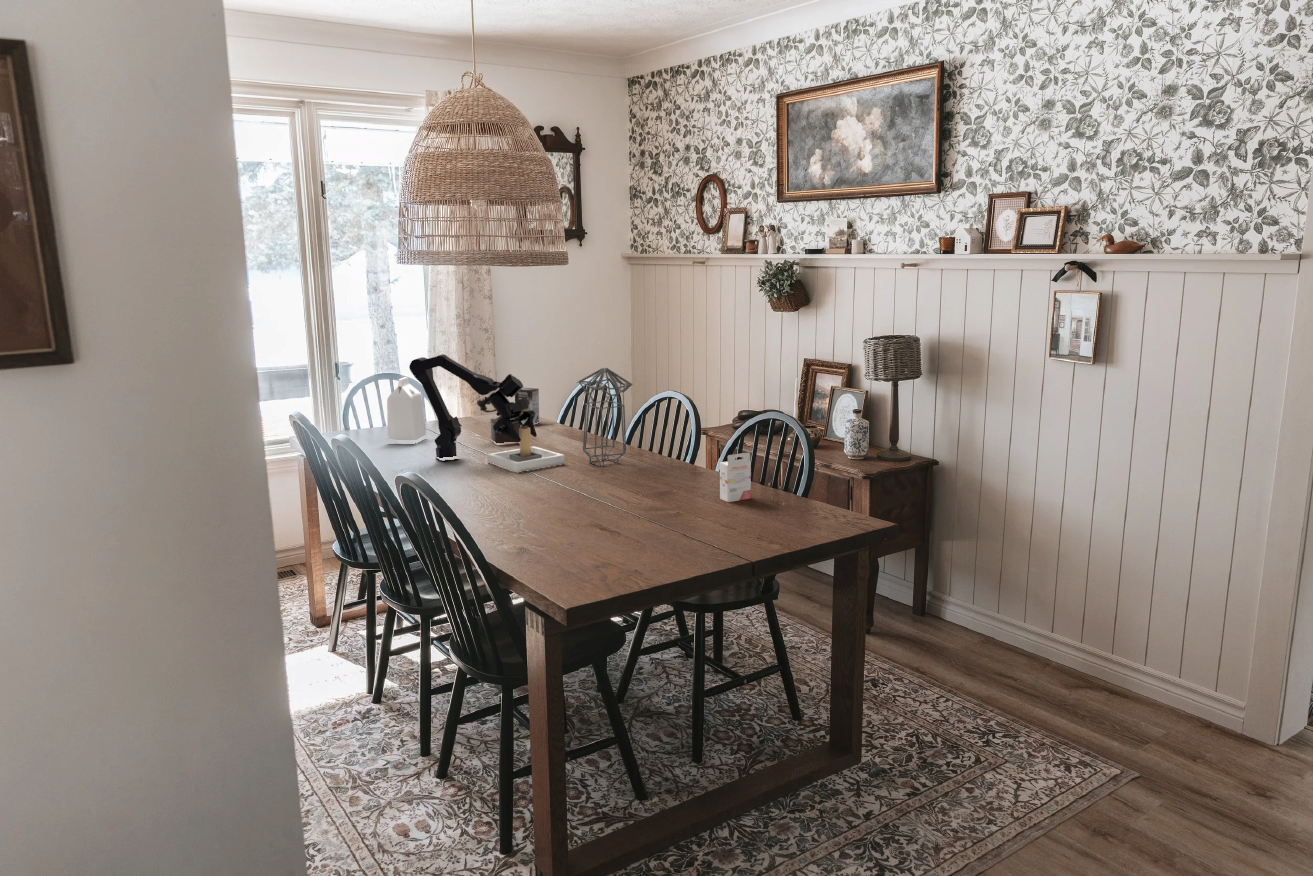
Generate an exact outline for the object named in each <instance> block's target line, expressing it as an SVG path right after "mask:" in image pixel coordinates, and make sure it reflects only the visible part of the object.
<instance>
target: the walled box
mask: <svg viewBox="0 0 1313 876" xmlns="http://www.w3.org/2000/svg"><path fill="white" fill-rule="evenodd" d="M488 461H489V462H491V463H494V464H497V465H500V466H503V467H506V468H509V469H510V470H513V471H516V472H520V471H527V470H532V471H535V470H534V469H537V468H542V467H548V466H553V467H555V466H554V465H559V466H561V465H560V464H564V465H565V463H566V462H565V454H562V453H558V452H555V451H552V450H549V449H545V448H541V447H538V446H531V456H528V457H520V448H516V449H510V450H504V451H499V452H492V453H487V462H488ZM548 468H549V467H548ZM537 470H538V469H537ZM527 472H528V471H527Z"/></svg>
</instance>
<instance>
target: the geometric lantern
mask: <svg viewBox="0 0 1313 876" xmlns="http://www.w3.org/2000/svg"><path fill="white" fill-rule="evenodd" d="M605 376H606V377H605ZM604 377H605V379H604ZM589 378H591V379H589ZM588 379H589V380H588ZM586 380H587V381H586ZM610 381H611V382H612V383H613V385H614V386H615V387H610ZM603 382H604V384H603ZM576 383H578V384H579V385H580V386H581V388H582V389H583V391H584V393H583V394H586V395H587V398H586V399H587V400H586V403H584V405H585V409H584V423H583V424H584V427H583V439H582V441H583V443H582V451H583V453H585V454H586V455H587V456H588V457H589V461H588V464H591V463H592V464H591V465H594V464H595V465H594V466H597V465H598V466H597V467H607V466H606V465H608V466H613V465H618V464H619V459H620V458H621V457H622V456H624V455H625V454H626V453H627V438H626V437H627V434H626V412H625V411H626V409H625V407H626V406H625V395H624V394H625V392H626V391H627V390H628V389H630V388H631V387H632V386H633V383H632V382H630V381H628V380H627V379H625V378H623V377H622V376H620V375H619V374H617V373H615V372H614V371H612V370H611V369H610V368H608V367H601V368H600V369H598V370H596V371H594V372H593V373H591V374H589V375H587V376H585V377H584V378H582V379H580V380H578V381H577V382H576ZM594 383H596V385H594ZM602 384H603V385H602ZM606 385H607V386H606ZM619 385H620V386H619ZM589 389H591V390H589ZM605 389H608V391H607V390H605ZM611 390H615V393H613V394H611ZM594 391H601V392H602V393H603V395H604V396H605V397H606V400H601V401H594V398H593V396H592V393H594ZM621 393H622V399H623V400H622V401H623V404H622V402H621V400H620V397H619V394H621ZM607 395H608V396H607ZM610 397H613V398H612V400H610ZM616 398H617V401H618V402H616V401H614V400H615V399H616ZM590 399H591V401H590ZM596 403H598V404H599V403H603V404H602V405H601V407H599V406H597V405H596ZM606 403H607V406H606V407H603V406H604V405H605V404H606ZM610 403H611V406H610ZM591 404H593V405H591ZM614 404H617V406H614ZM618 405H619V406H618ZM590 407H591V408H593V409H595V427H594V428H595V429H594V430H595V431H594V446H591V447H590V446H589V447H587V441H588V440H587V437H588V429H589V427H588V425H589V417H590V415H589V413H590ZM615 408H620V414H621V415H620V417H621V418H620V419H621V420H620V421H621V433H622V437H621V438H622V447H623V449H622V448H619V447H617V446H615V414H614V409H615ZM603 409H604V410H605V409H607V414H606V415H607V416H606V433H605V434H606V435H605V436H606V439H605V445H604V442H603V441H604V437H603V436H604V435H603ZM610 409H611V418H612V419H611V420H612V445H609V444H608V439H609V438H608V436H609V419H610V418H609V416H610V414H609V413H610ZM599 410H600V437H601V438H600V440H601V441H600V442H601V444H600V445H599V446H597V436H598V435H597V434H598V433H597V431H598V411H599ZM607 447H609V448H610V450H609V451H608V452H607ZM598 448H601V454H597V449H598ZM613 448H614V449H617V450H620V451H622V452H620V453H611V451H612V450H613ZM591 449H594V453H592V452H590V451H588V450H591ZM604 449H605V451H604ZM599 457H601V459H599ZM606 457H607V458H606ZM609 457H614V458H611V459H609ZM592 459H593V460H592ZM607 459H608V460H607ZM600 460H601V461H600ZM610 460H611V461H610ZM594 461H595V462H599V464H597V463H594ZM608 461H610V462H613V461H614V463H609V464H605V463H604V462H608ZM601 462H602V463H601ZM616 462H617V463H616ZM601 464H602V465H601ZM612 464H613V465H612Z"/></svg>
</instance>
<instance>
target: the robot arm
mask: <svg viewBox="0 0 1313 876" xmlns="http://www.w3.org/2000/svg"><path fill="white" fill-rule="evenodd" d="M437 367H441V368H442V369H444V370H446V371H447V372H449V373H451V374H452V375H454V376H456V377H457V378H459V379H461V380H463V382H466V383H467V384H468V385H469V386H470V387H471V389H472V390H474V391H475V392H476V393H478V395H481V396H484V399H485V400H484V404H486V405H492V407H493V408H494V409H496V411H495V412H497V413H495V414H496V416H497V418H498V417H499V416H501V417H499V418H498V420H497V421H496V422H495V423H494V424H493V429H494V431H495V432H496V433H497V432H499V433H501V434H504V435H506V436H508V437H510V438H512V439H514V440H516V441H518V442H520V441H521V439H520V437H519V435H518V434H517V432H516V431H515V429H514V428H513V423H517V422H518V423H519V424H520V425H521V426H528V427H529V428H530V435H531V437H534V438H537V435H538V434H537V431H536V428H535V425H534V424H533V419H534V417H535V415H536V414H535V412H534V411H533V410H527V411H524V412H523V413H522V411H521V410H523V409H525V408H529V404H530V403H529V401H528V400H527V399H526V398H522V399H520V401H517V402H515V401H510V400H509V399H508V398H509V397H510V398H513V397H515V394H516V393H517V392H518V391H520V390H521V389H522V388H524V385H523V382H522V381H521V380H520V379H519V378H518V377H516V376H514V375H513V374H511V373H510V374H508V375H507V376H505V378H504V379H503V380H502V381H501V382H500V381H497V380H494V379H493V378H491V377H489V376H486V375H483V374H480V373H476V372H474V371H473V370H470V369H469V368H468V367H465V366H463V365H462V364H460V362H457V361H455V360H454V359H453V358H450V357H449V356H448V355H446V354H438V355H437V356H433V357H429V358H427V357H424V356H423V357H418V358H416V359H413V360H411V361H410V363H409V371H410V372H411V374H412V375H413V376H414V378H415V379H416V380H417V381H418V382H419V383H420V384H421V385H422V387H423V388H422V389H423V390H424V392H425V395H426V397H427V398H428V400H429V403H430V405H431V407H432V410H433V411H434V414H435V416H436V418H437V423H438V425H437V426H438V430H439V435H437V437H436V438H435V439H434V443H435V445H436V448H435V453H436V457H439V458H443V457H453V456H458V455H457V454H458V453H457V443H456V441H457V440H458V439H457V438H458V437H459V436H460V435H461V434H462V433H461V432H462V428H461V427H462V424H461V423H460V421H459V417H458V416H454V417H453V415H451V414H450V412H449V409H448V408H447V405H446V403H445V401H444V399H443V397H442V395H441V393H440V390H439V388H438V386H437V383H436V382H435V380H434V371H433V370H434V368H437ZM488 394H489V395H488ZM485 395H488V396H485ZM521 413H522V415H521V416H520V415H519V414H521ZM436 457H435V458H436Z"/></svg>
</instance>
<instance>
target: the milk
mask: <svg viewBox="0 0 1313 876" xmlns="http://www.w3.org/2000/svg"><path fill="white" fill-rule="evenodd" d="M386 402H387V403H386V404H387V405H386V408H387V409H386V412H387V413H386V414H387V416H386V417H387V419H386V420H387V440H388V439H394V440H395V439H396V440H417V439H419V438H420V437H422V436H424V435H426V436H427V430H426V422H425V413H424V403H423V395H422V393H421V392H420V391H419V390H417V389H416V387H415V386H413V385H412V384H411V382H410V380H409V378H408V376H407V377H402V378H399V379H398V381H397V387H396V388H395V389H394V391H392V392H391V393H390V394H389V396H388V397H387V399H386Z"/></svg>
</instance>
